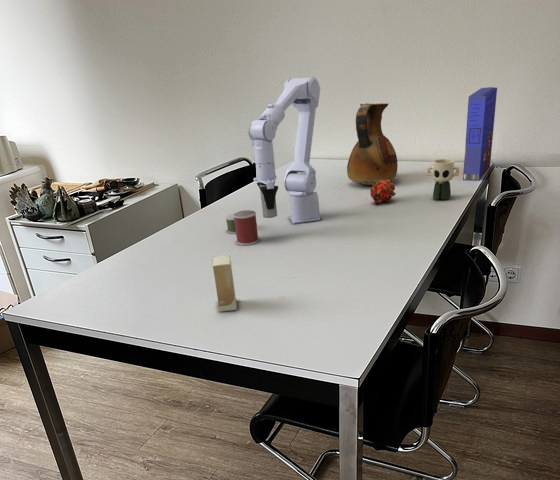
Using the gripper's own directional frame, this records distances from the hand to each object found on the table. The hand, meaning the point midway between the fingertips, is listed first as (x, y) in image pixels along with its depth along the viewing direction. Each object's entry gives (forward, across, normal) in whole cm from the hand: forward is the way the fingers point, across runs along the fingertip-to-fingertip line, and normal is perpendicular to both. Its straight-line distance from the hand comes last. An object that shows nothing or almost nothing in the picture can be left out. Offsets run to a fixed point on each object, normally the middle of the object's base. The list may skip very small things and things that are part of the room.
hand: (269, 206), depth 187 cm
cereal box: (+10, -42, +90) cm, 100 cm away
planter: (+3, 0, 0) cm, 3 cm away
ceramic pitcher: (+10, -49, +49) cm, 70 cm away
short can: (+10, -12, -10) cm, 18 cm away
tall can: (+10, +1, -8) cm, 13 cm away
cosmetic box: (+10, +49, -19) cm, 54 cm away
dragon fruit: (+10, -21, +44) cm, 49 cm away
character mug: (+10, -15, +64) cm, 66 cm away
